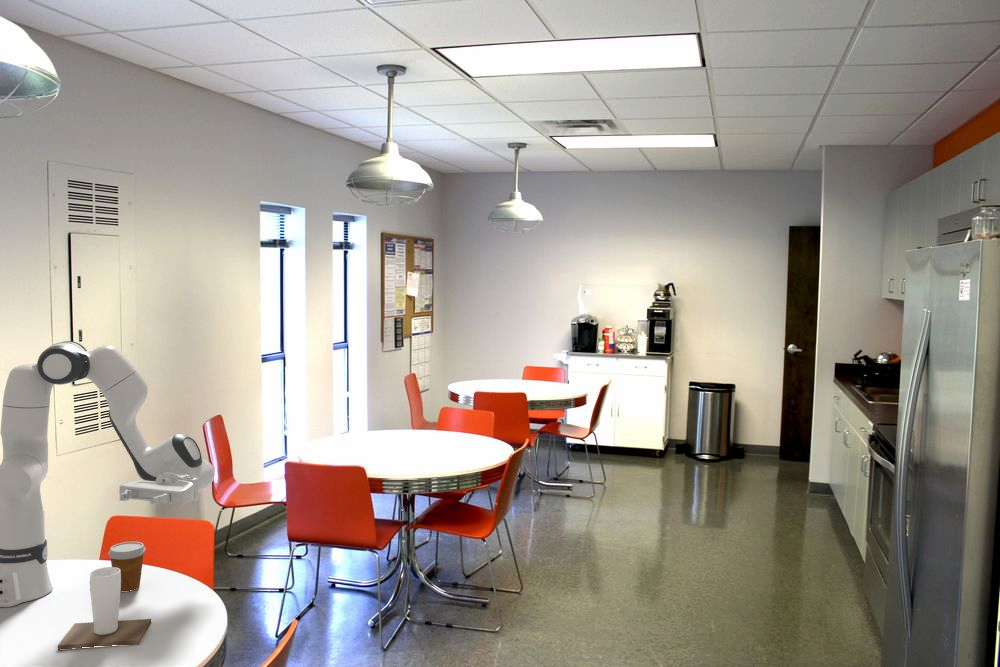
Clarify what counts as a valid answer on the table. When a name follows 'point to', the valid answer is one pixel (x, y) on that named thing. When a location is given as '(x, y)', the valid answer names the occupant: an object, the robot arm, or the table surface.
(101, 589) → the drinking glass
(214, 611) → the table surface
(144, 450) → the robot arm
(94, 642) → the walnut board
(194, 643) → the table surface
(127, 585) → the disposable coffee cup
